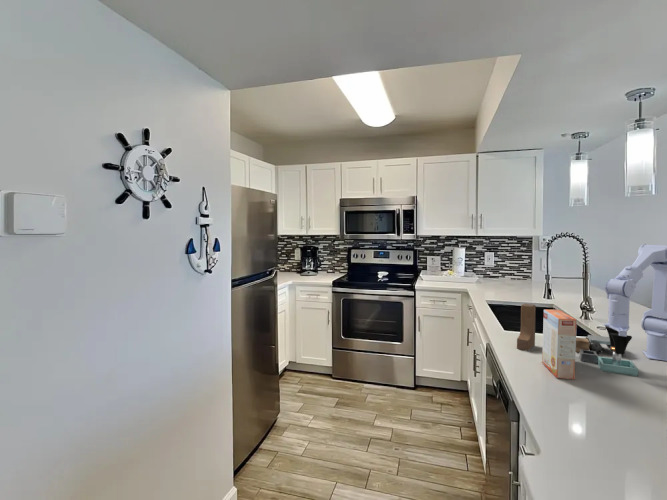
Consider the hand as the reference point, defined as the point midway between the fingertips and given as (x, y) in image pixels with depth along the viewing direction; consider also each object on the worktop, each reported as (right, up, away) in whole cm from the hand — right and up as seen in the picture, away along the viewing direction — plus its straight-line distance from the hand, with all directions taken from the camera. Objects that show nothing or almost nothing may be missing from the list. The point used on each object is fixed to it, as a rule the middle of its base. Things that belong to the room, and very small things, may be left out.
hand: (617, 350), depth 124 cm
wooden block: (-19, -6, +24) cm, 32 cm away
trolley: (+9, -6, +18) cm, 21 cm away
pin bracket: (-4, -6, +9) cm, 12 cm away
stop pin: (0, -6, 0) cm, 7 cm away
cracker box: (-21, -8, 0) cm, 23 cm away
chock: (0, -6, +18) cm, 19 cm away
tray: (0, -7, 0) cm, 7 cm away
